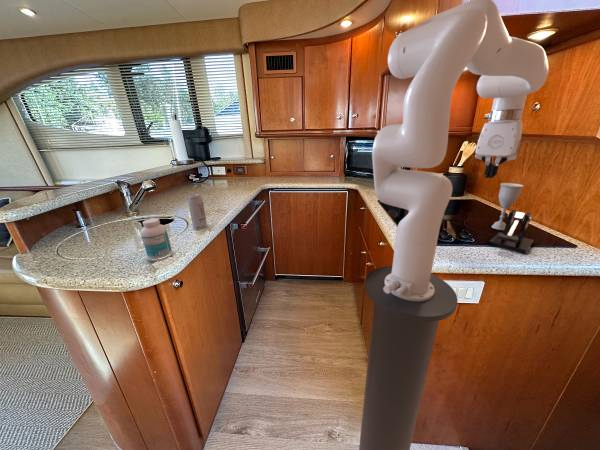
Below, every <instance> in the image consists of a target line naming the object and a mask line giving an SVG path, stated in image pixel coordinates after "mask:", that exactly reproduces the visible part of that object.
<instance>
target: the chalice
mask: <svg viewBox="0 0 600 450" xmlns="http://www.w3.org/2000/svg"><path fill="white" fill-rule="evenodd" d="M523 187H524V185H523V184H519V183H515V182H514V183H512V182H501V183H500V188H499V193H498V202H499V205H500V207H501V208H502V210H501V212H500V215H499V220H498V221H495V222H494V223H493V224H492V225H491V228H492V229H495V230H499V231H504V229H505V226H506V222H504V219H505V218H506V216H505V215H506V214H507V209H509V208H511V207H512V206H513V205H514V204H515V203H516V201H517V200H518V198H519V196H520V193H521V189H522V188H523Z"/></svg>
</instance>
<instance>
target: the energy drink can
mask: <svg viewBox="0 0 600 450" xmlns="http://www.w3.org/2000/svg"><path fill="white" fill-rule="evenodd" d="M203 199H204V198H203V197H202V195H201V194H200V193H192V194H189V195H188V198H187V204H188V209H189V214H190V218H191V224H192V227H193V228H194V229H196V230H202V229H204V228H206V227H207V225H208V221H207V217H206V212H205V206H204V205H205V204H204V200H203ZM205 225H206V226H205Z"/></svg>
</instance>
